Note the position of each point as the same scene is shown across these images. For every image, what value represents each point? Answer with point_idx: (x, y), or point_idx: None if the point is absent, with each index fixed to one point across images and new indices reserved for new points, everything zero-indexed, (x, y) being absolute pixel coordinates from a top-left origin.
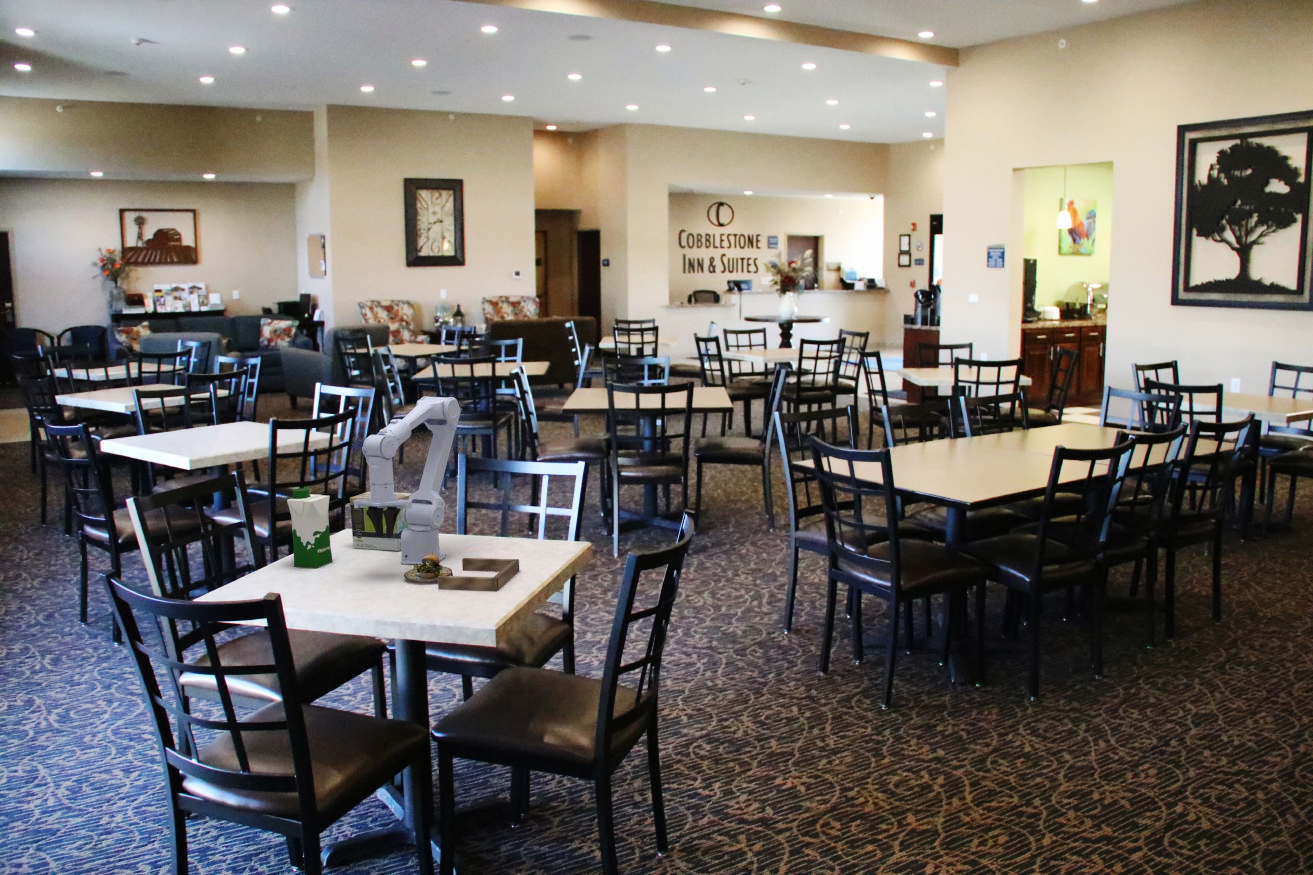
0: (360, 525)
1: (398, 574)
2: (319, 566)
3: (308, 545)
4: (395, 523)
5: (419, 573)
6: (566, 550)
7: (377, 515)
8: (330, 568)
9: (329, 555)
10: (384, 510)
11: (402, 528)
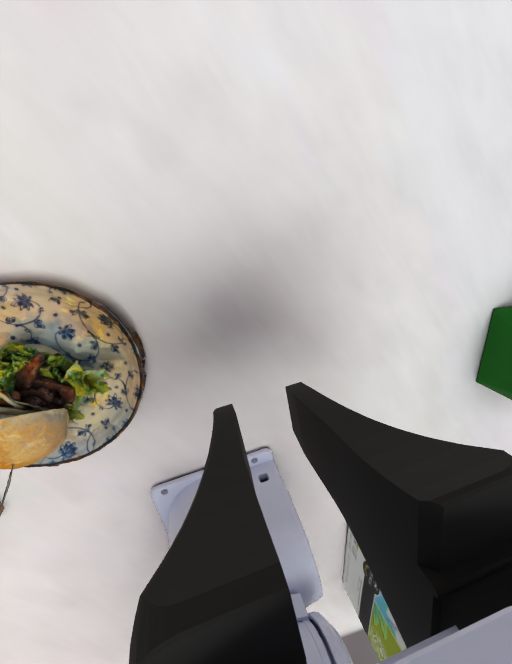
0: None
1: (199, 361)
2: (491, 323)
3: None
4: None
5: (51, 351)
6: None
7: (381, 516)
8: (454, 325)
9: (497, 376)
10: (291, 619)
11: (381, 602)
